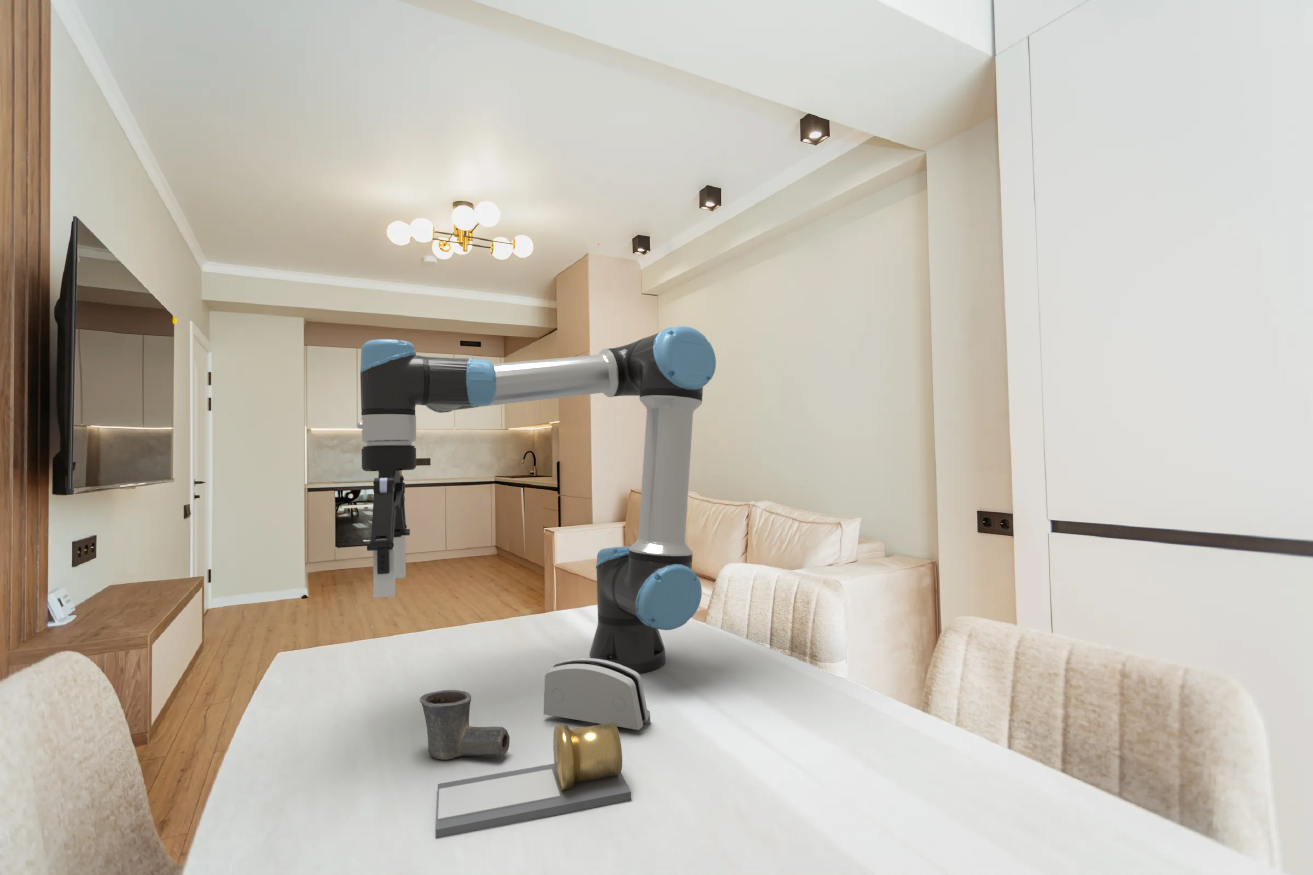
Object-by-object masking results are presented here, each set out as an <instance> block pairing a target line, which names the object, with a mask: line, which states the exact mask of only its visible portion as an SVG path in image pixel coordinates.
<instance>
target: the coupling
mask: <svg viewBox="0 0 1313 875" xmlns="http://www.w3.org/2000/svg"><path fill="white" fill-rule="evenodd" d="M552 741H553V742H552V743H553V746H552V747H553V750H552V751H553V764H554V765H555V773H556V777H557V781H558V784H559V787H560V790H561V791H564V790H570V789H573V787H574V783H578V782H583V781H588V780H594V779H599V778H605V777H610V776H615V775H620V774H621V773H622V770H623V751H622V750H623V749H622V743H621V742H622V741H621V737H620V731H619V729H618V726H616V724H615V723H607V724H596V725H590V726H582V727H577V728H571V729H570V727H569V725H568V724H562V725H556V726H554V729H553V739H552Z"/></svg>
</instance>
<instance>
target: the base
mask: <svg viewBox="0 0 1313 875" xmlns="http://www.w3.org/2000/svg"><path fill="white" fill-rule="evenodd" d="M436 793H437V794H436V798H437V799H436V811H435V812H436V814H435V817H436V818H435V839H439V838H445V837H449V836H455V835H461V834H466V833H470V832H476V831H477V832H478V831H482V830H487V829H492V828H496V827H503V826H507V825H512V824H518V823H519V824H520V823H524V822H529V821H533V820H534V821H535V820H538V819H543V818H548V817H549V818H550V817H554V816H558V815H564V814H567V813H568V814H569V813H573V812H579V811H584V810H588V809H589V810H590V809H593V808H599V807H603V806H604V807H605V806H608V805H613V804H619V803H624V802H628V801H632V790H631V789H630V787H629V785H628V783H627V781H626V780H625V778H624V776H623V773H622V772H621V774H620V775H615V776H610V777H605V778H599V779H594V780H588V781H583V782H578V783H574V787H573V789H570V790H564V791H561V790H560V787H559V784H558V781H557V777H556V773H555V765H554V763H549V764H544V765H537V766H533V767H527V768H526V767H525V768H522V769H521V768H520V769H515V770H509V771H503V772H498V773H492V774H487V775H486V774H485V775H480V776H475V777H468V778H464V779H457V780H453V781H452V780H451V781H447V782H446V781H445V782H442V783H440V782H439V783H437V792H436Z"/></svg>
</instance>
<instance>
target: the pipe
mask: <svg viewBox="0 0 1313 875" xmlns="http://www.w3.org/2000/svg"><path fill="white" fill-rule="evenodd" d="M471 701H472V695H471V694H470V693H469V692H468V691H463V690H460V689H459V690H458V689H457V690H456V689H446V690H445V689H444V690H437V691H434V692H428V693H425V694H423V695H422V696H420V697H419V702H420V703H421V707H422V710H423V715H424V719H425V723H426V724H425V726H426V733H427V748H428V754H429V755H430V756H431V757H432V758H434V759H437V760H442V761H443V760H452V759H455V758H458V757H459V758H460V757H463V756H464V757H465V756H466V757H479V758H481V757H482V758H483V757H484V758H486V757H492V758H495V757H504V756H505V755H506V754H507V753H508V750H509V748H510V739H511V738H510V734H509V732H508V730H507V728H505V727H503V726H472V725H470V709H471V703H472V702H471Z"/></svg>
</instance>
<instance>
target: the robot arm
mask: <svg viewBox="0 0 1313 875" xmlns="http://www.w3.org/2000/svg"><path fill="white" fill-rule="evenodd" d="M360 349H361V350H360V373H359V375H360V376H359V377H360V378H359V379H360V408H361V409H360V410H361V413H360V414H361V421H359V422H357V424H356V427H357V428H358V430H360V429H361V441H362V442H363V443H366V445H365V446H362V448H361V469H362V470H363V471H364V472H378V477H376V478H375V477H374V478H373V481H372V482H373V484H372V485H373V488H372V489H373V501H372V502H373V503H372V517H371V518H372V520H371V521H372V522H371V536H370V538H371V539H370V542H369V543H367V544H366V551H367V552H369V551H370V552H372V561H373V562H372V565H373V566H372V568H373V569H372V570H373V571H372V572H373V575H372V576H373V578H372V580H373V581H372V582H373V599H379V598H389V597H390V598H391V597H392V598H393V597H395V596H396V580H397V579H406V577H407V574H406V572H407V571H406V568H407V565H406V561H407V560H406V557H407V556H406V555H407V553H406V536H410V534H411V529H410V528H408V526H407V521H406V508H405V505H406V504H405V501H406V498H405V494H406V483H405V482H404V480H405V477H404V475H403V474H401V473H400V471H412V470H413V471H414V470H415V469H416V467H417V447H415V445H413V442H416V441H417V415H416V406H419V405H420V406H425V407H426V408H427V409H429V410H431V411H433V412H435V413H439V414H440V413H441V414H443V413H450V412H453V411H459V410H466V409H468V410H469V409H475V408H482V407H488V406H499V405H507V404H508V405H509V404H516V403H523V402H525V403H526V402H533V401H534V402H535V401H542V400H550V399H551V400H552V399H560V398H567V397H570V398H571V397H576V396H586V395H587V396H588V395H593V394H594V395H595V394H603V395H605V396H606V397H607V398H612V397H613V398H614V397H623V396H625V397H629V396H633V397H637V396H638V397H639V401H640V402H641V404H642V405H643V406H644V407H645V409H646V419H645V432H644V433H645V434H644V449H643V461H642V462H643V465H642V474H641V475H642V476H641V478H642V480H641V488H640V489H641V490H640V492H641V493H640V507H639V508H640V509H639V519H638V520H639V523H638V535H637V539H636V541H635V542H633V544H632V545H625V546H615V547H607V548H601V549H600V550H599V551H598V552H597V553H596V565H595V570H596V592H597V593H596V598H597V600H596V602H597V625H596V629H595V633H594V636H593V641H592V643H591V647H590V650H589V658H594V659H601V660H607V661H611V662H614V663H617V664H620V665H623V666H625V667H628V668H630V669H632V670H634V671H636V672H637V673H638V674H642V673H647V672H651V671H654V670H657V669H659V668H661V667H662V666H663V665H665V663H666V661H665V660H666V658H667V657H666V648H665V645H664V642H663V639H662V638H663V637H662V636H661V633H660V630H661V631H671V630H675V629H679V628H681V627H682V626H684V625H686V624H687V623H688V621H689V620H690V619H691V618H693V616H695V614H696V612H697V611H698V609H699V606H700V604H701V601H702V594H703V593H702V592H703V590H702V584H701V581H700V578H699V577H698V575H697V574H696V572H695V571H694V570H692V566H693V551H692V549H691V548H690V547H689V546H688V544H687V543H686V533H687V532H686V531H687V530H686V528H687V515H688V498H689V497H688V496H689V485H690V483H689V482H690V467H691V452H692V450H691V449H692V438H693V437H692V436H693V422H694V421H693V420H694V419H693V418H694V413H695V411H696V410H697V409H698V408H699V407H700V406H701V405H703V394H704V387H705V386H706V385H707V384H708V383H709V382H710V381H711V380H712V379H713V376H714V374H715V371H716V368H717V360H716V353H715V351H714V348H713V346H712V344H711V342H710V341H708V339H707V338H706V336H705V335H704V334H703V333H702V332H700V331H699V330H697V329H695V328H693V327H691V326H687V325H686V326H684V325H683V326H681V325H680V326H674V327H667V328H664V329H662V330H661V331H660V332H658V333H654V334H652V335H650V336H646V337H644V338H641V339H638V340H636V341H634V342H631V343H628V344H624V345H622V346H617V347H612V348H603V349H602V350H600V351H599V353H598V354H591V355H579V356H568V357H559V358H557V357H556V358H547V359H546V358H544V359H535V360H521V361H511V362H501V363H493V362H492V361H490V360H489V359H481V358H479V359H478V358H474V357H469V358H467V357H465V358H464V357H436V356H435V357H434V356H422V355H417V352H416V350H415V346H414V344H413V343H412V342H410V341H407V340H399V339H394V338H393V339H389V338H381V339H379V338H378V339H371V340H368V341H366V342H365V343H364V344H362V346H361V348H360ZM660 666H661V667H660Z"/></svg>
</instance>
